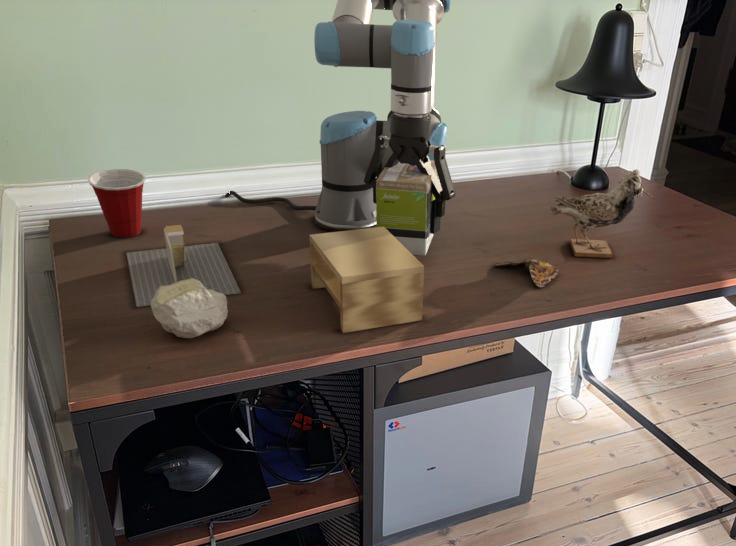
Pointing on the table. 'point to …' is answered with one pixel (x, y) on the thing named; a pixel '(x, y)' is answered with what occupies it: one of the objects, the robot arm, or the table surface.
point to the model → (178, 267)
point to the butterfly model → (539, 271)
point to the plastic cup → (120, 199)
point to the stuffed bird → (600, 213)
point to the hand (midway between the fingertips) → (407, 225)
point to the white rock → (189, 308)
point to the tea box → (406, 205)
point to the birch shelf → (368, 277)
